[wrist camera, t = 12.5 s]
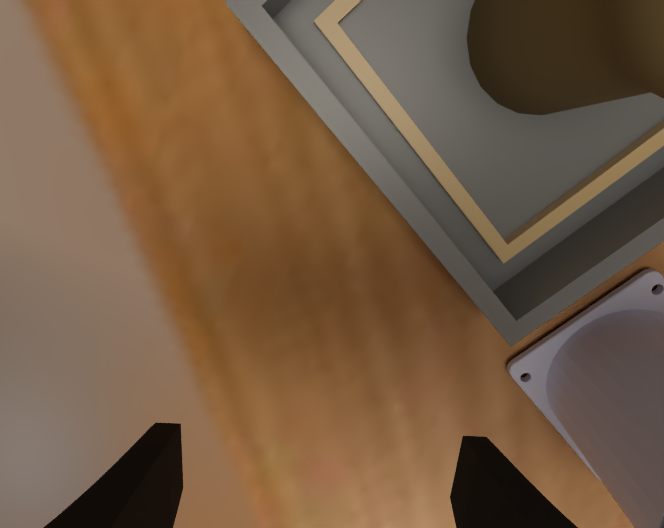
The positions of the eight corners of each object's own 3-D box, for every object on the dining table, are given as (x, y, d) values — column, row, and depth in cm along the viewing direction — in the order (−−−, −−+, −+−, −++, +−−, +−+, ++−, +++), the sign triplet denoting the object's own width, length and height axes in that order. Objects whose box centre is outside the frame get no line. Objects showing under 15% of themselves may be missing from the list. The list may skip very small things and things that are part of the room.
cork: (537, -104, 16) (909, -454, 6) (664, 0, 17) (1166, -140, 7) (434, 60, 18) (581, 14, 8) (556, 144, 19) (830, 206, 9)
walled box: (817, 68, 19) (921, 62, 15) (483, 308, 22) (510, 346, 19) (617, -359, 15) (703, -493, 11) (243, 19, 18) (225, 2, 15)
